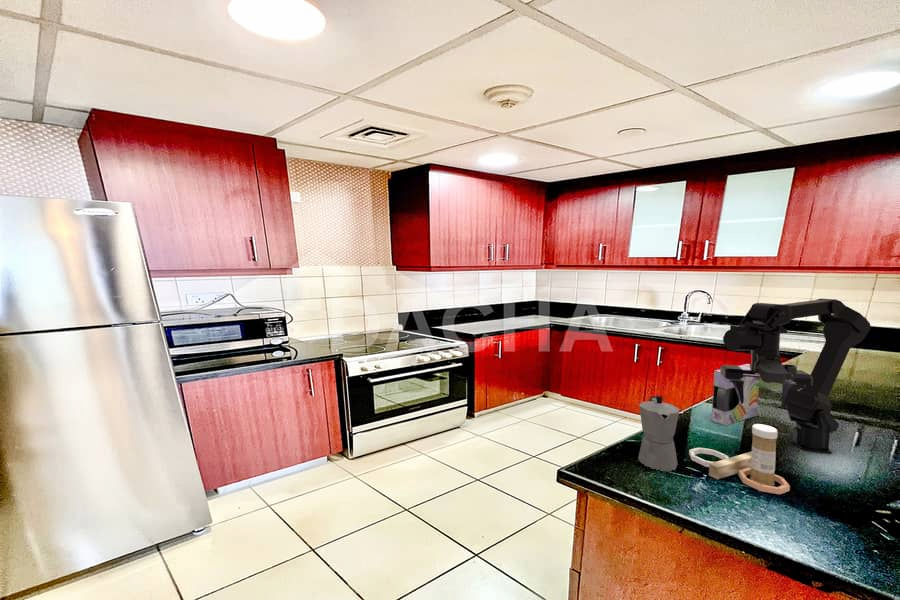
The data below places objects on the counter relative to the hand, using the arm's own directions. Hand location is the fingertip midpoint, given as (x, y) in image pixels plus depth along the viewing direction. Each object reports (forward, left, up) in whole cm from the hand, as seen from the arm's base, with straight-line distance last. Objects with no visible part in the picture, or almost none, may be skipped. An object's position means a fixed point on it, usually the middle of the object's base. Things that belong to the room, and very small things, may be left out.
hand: (762, 405), depth 103 cm
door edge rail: (+9, +15, -13) cm, 22 cm away
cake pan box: (0, -24, -13) cm, 27 cm away
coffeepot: (+27, +17, -13) cm, 34 cm away
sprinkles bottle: (+5, +19, -13) cm, 23 cm away
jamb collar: (+14, +11, -13) cm, 22 cm away
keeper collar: (+5, +19, -13) cm, 24 cm away
